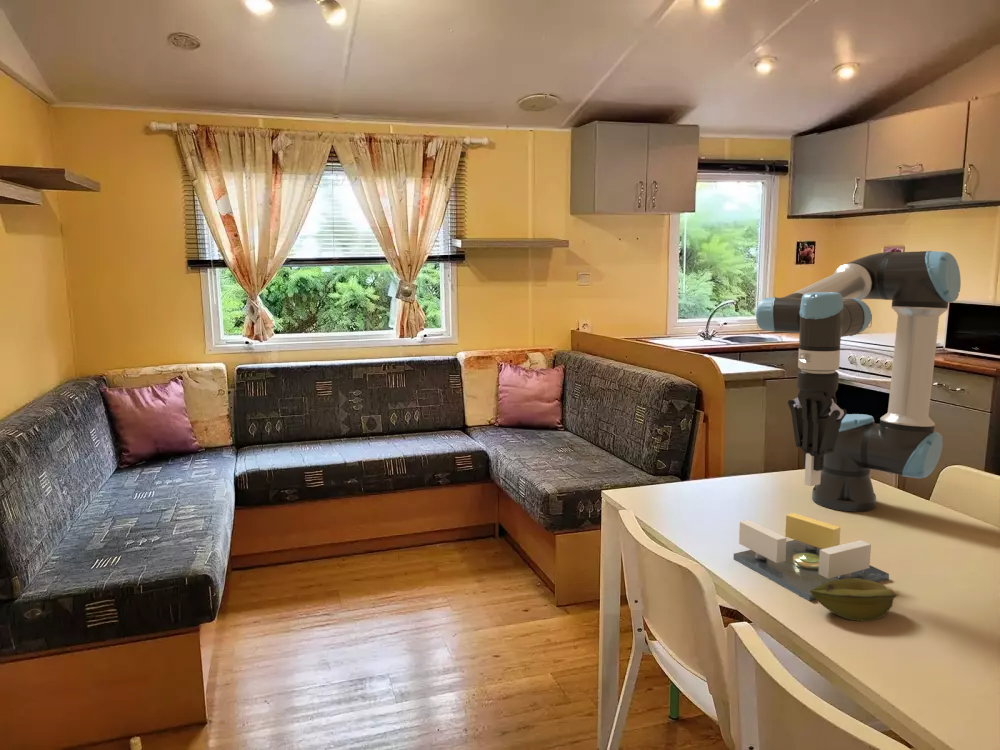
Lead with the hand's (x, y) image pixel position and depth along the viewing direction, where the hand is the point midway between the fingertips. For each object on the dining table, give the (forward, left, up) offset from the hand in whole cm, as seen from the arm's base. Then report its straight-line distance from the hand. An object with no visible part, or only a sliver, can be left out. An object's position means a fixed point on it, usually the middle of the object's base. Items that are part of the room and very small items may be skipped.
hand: (812, 484), depth 144 cm
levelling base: (0, 0, -18) cm, 18 cm away
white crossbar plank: (+7, -6, -17) cm, 19 cm away
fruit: (+7, +17, -19) cm, 26 cm away
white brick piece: (-1, +8, -17) cm, 19 cm away
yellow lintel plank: (-6, -5, -17) cm, 19 cm away
